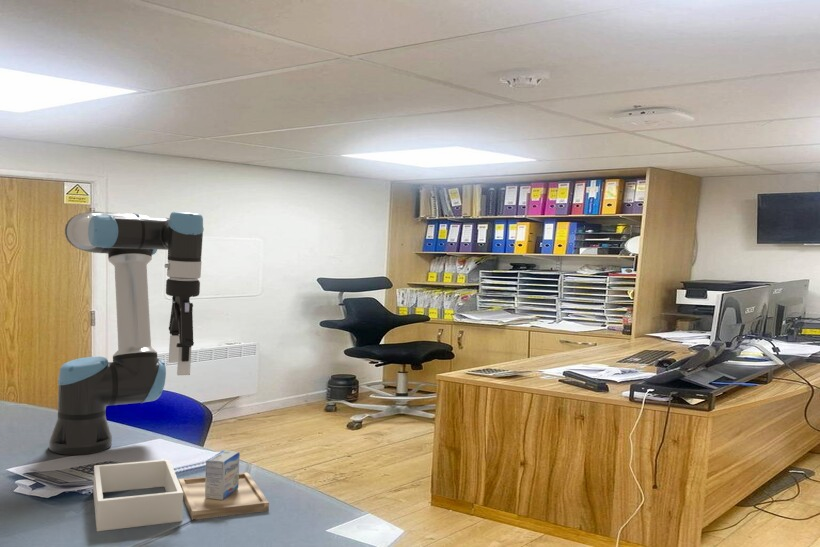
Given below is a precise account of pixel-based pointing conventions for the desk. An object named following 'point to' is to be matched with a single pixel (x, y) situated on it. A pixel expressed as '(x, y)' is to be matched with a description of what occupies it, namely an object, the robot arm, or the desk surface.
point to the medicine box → (222, 475)
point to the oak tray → (237, 502)
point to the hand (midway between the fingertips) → (178, 368)
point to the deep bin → (141, 506)
